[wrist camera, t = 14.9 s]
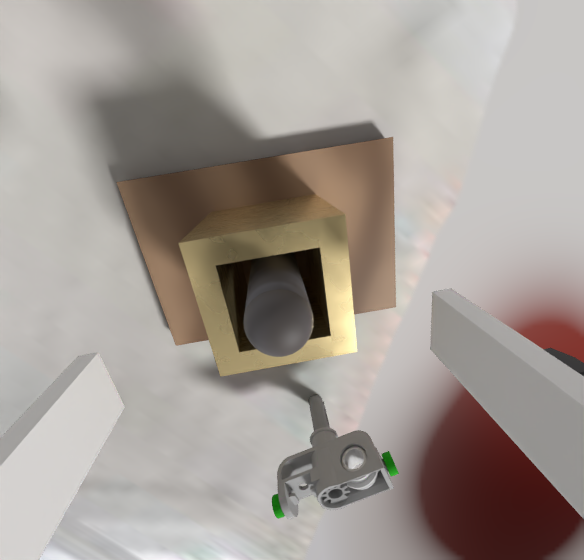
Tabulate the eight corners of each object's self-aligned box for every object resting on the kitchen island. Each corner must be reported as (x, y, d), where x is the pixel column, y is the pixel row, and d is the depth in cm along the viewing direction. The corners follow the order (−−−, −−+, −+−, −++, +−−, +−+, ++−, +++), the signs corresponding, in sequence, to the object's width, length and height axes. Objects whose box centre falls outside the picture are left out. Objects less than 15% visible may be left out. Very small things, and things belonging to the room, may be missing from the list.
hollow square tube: (235, 305, 25) (220, 376, 17) (211, 212, 22) (178, 243, 14) (327, 289, 25) (357, 351, 17) (315, 194, 22) (345, 214, 14)
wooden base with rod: (180, 336, 28) (104, 493, 15) (125, 180, 22) (-72, 210, 9) (389, 299, 28) (496, 421, 15) (385, 138, 23) (547, 108, 10)
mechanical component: (267, 408, 32) (268, 510, 23) (355, 372, 31) (393, 463, 22) (279, 426, 33) (284, 530, 24) (364, 392, 32) (404, 486, 23)
